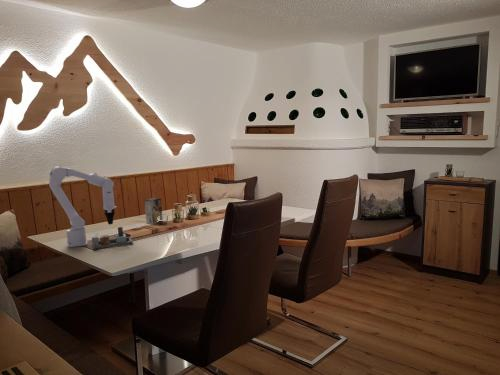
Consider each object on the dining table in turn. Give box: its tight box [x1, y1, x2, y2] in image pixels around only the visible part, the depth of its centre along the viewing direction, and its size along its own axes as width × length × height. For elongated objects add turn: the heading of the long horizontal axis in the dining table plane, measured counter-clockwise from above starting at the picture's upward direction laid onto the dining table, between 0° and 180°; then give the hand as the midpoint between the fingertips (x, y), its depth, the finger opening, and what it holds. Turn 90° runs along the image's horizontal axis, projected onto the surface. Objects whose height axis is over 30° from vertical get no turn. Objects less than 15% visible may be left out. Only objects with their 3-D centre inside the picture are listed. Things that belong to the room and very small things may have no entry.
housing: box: [99, 234, 111, 245], centre depth 209 cm, size 4×4×5 cm
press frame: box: [91, 232, 133, 250], centre depth 210 cm, size 20×11×6 cm, turn 111°
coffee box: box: [144, 197, 163, 225], centre depth 259 cm, size 9×6×16 cm
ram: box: [115, 226, 127, 243], centre depth 212 cm, size 5×8×8 cm, turn 21°
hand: (110, 222), depth 220 cm, fingers open, 7 cm apart
